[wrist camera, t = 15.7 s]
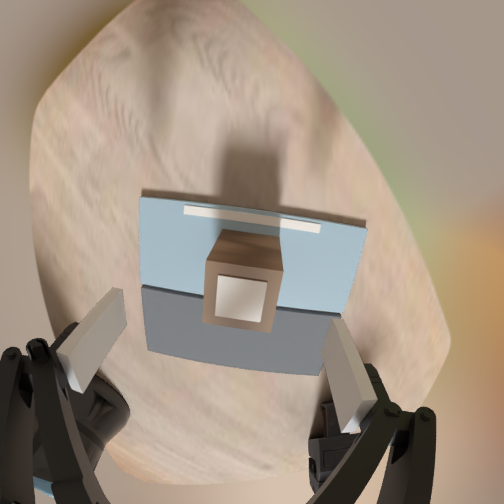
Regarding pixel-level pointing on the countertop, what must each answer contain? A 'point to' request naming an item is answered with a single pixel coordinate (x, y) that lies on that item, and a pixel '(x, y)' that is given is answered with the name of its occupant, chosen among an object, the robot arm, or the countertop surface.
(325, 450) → the tool
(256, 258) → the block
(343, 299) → the mat
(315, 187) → the countertop surface
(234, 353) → the mat
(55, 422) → the robot arm
